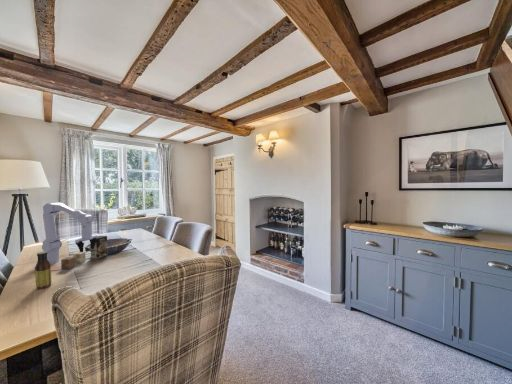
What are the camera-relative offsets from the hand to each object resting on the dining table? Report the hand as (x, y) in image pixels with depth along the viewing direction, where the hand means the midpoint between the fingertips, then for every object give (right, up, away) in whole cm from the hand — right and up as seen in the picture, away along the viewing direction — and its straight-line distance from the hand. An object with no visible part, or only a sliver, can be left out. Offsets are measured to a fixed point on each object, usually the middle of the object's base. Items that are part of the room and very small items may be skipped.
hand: (87, 250), depth 155 cm
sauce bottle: (+3, -12, -35) cm, 37 cm away
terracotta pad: (-12, -9, -11) cm, 19 cm away
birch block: (-6, -9, +1) cm, 11 cm away
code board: (-9, -10, -5) cm, 14 cm away
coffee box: (-1, -10, +14) cm, 17 cm away
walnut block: (-5, -10, -10) cm, 15 cm away
